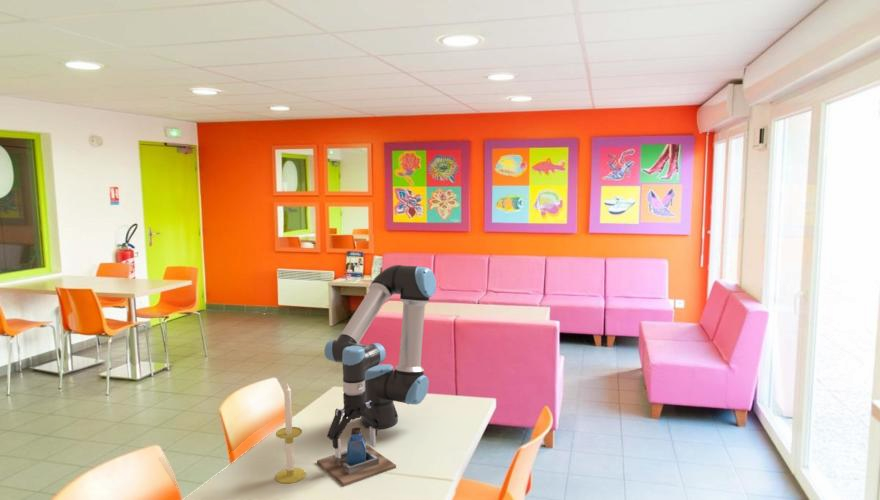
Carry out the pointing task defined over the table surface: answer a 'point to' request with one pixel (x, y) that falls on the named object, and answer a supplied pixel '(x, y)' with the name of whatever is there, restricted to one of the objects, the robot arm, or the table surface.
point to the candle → (289, 444)
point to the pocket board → (356, 466)
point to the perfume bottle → (356, 448)
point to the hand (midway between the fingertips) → (355, 451)
